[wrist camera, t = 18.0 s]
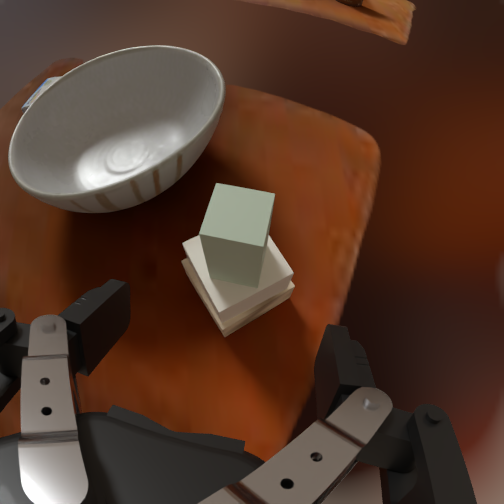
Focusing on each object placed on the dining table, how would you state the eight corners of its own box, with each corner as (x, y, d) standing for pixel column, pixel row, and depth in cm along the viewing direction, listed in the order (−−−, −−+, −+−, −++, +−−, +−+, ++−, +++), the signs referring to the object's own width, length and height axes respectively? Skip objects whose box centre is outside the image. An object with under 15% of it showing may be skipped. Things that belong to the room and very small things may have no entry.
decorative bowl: (172, 288, 34) (142, 234, 23) (19, 220, 37) (-25, 170, 26) (255, 125, 45) (259, 57, 34) (113, 98, 48) (96, 44, 37)
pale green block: (257, 288, 26) (263, 246, 19) (210, 277, 26) (199, 233, 19) (267, 245, 28) (275, 193, 21) (221, 236, 28) (216, 182, 21)
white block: (221, 323, 29) (218, 312, 25) (188, 261, 31) (182, 243, 27) (287, 288, 30) (293, 272, 27) (250, 231, 33) (252, 210, 29)
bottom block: (224, 337, 32) (222, 330, 28) (187, 275, 35) (181, 261, 31) (289, 298, 34) (294, 286, 30) (248, 241, 37) (249, 223, 33)
